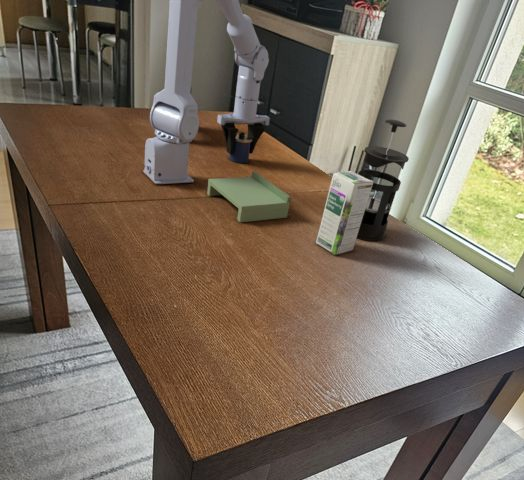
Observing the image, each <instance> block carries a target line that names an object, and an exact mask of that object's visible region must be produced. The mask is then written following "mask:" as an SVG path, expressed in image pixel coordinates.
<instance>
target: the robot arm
mask: <svg viewBox="0 0 524 480" xmlns="http://www.w3.org/2000/svg"><path fill="white" fill-rule="evenodd" d="M204 1H205V0H169V5H168V23H167V25H168V26H167V39H166V40H167V41H166V43H167V44H166V56H165V74H164V88H163V89H162V90H160V91H159V92H156V93H155V94H154V95H153V101H152V102H153V103H152V107H151V109H150V112H149V123H150V126H151V127H152V128H153V130H154V135H155V136H154V137H149V138H146V141H145V144H144V169H143V170H142V172H143V174H145V175H146V176H147V177H148V178H149V179H150V180H151V181H152V182H153V183H154V184H156V185H170V184H187V183H190V184H191V183H194V182H195V180H194V178H192V177H191V176H190V175H188V172H189V171H188V169H189V155H190V154H189V153H190V143H192V142H193V140H194V139H195V137H196V136H197V134H198V132H199V126H200V121H199V117H198V108H199V106H198V103H197V102H196V100H195V98H194V97H193V96H192V80H193V79H192V78H193V67H194V55H195V53H194V52H195V44H196V32H197V20H198V9H199V6H200V5H201V4H203V2H204ZM216 1H217V3H218V5H219V7H220V9H221V10H222V12H223V15H224V16H225V18H226V20H227V22H228V23H227V25H226V32H227V34H228V36H229V38H230V40H231V42H232V45H233V51H234V62H235V64H236V66H238V72H237V82H236V89H235V97H234V106H233V107H234V108H233V113H225V114H217V118H216V119H217V120H216V122H217V124H219V125H220V127H221V129H222V132H223V135H224V140H225V145H226V153H228V154H229V155H230V154H233V151H234V143H235V138H236V135H237V133H238V132H239V129H238V128H237V127H236V125H247V135H248V136H250V137H252V138H253V139H252V142H251V145H250V153H249V155H251V154H253V153H254V151H255V148H256V145H257V143H258V142H259V140H260V138H261V137H262V135H263V134H264V133H265V130H266V127H265V126H270V121H271V120H270V119H271V117H269V116H268V115H262V114H257V110H258V103H259V96H260V88H261V82H262V80H263V79H264V76H265V72H266V69H267V67H268V65H269V62H270V58H269V52H268V50H267V49H266V47H265V46H264V45H262V44H261V42H260V40H259V37H258V35H257V33H256V30H255V27H254V24H253V19H252V18H251V17H250V16H249V15H248V14H245V13H243V11H242V7H241V5H240V1H239V0H216ZM190 91H191V93H190ZM263 125H264V126H263Z"/></svg>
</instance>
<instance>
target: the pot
mask: <svg viewBox="0 0 524 480" xmlns="http://www.w3.org/2000/svg"><path fill="white" fill-rule="evenodd" d="M252 139H253V138H252V137H250V136H248V134H245V132H244V131H240V132H239V133H238V132H237V135H236V138H235V143H234V151H233V154H229V155H228V158H229V160H230V161H232V162H234V163H238V164H247V163H249V160H250V145H251V142H252Z"/></svg>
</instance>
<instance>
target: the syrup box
mask: <svg viewBox="0 0 524 480" xmlns="http://www.w3.org/2000/svg"><path fill="white" fill-rule="evenodd" d="M373 183H374V180H372V179H371V180H369V179H366V178H364V177H362V176H360V175H358V173H356V172H355V171H353V170H342V171H341V170H340V171H336V172H334V173H333V174H332V178H331V180H330V184H329V189H328V193H327V197H326V201H325V206H324V209H323V213H322V216H321V217H322V218H321V222H320V226H319V229H318V233H317V237H316V240H315V244H316V245H318V246H320V247H321V248H323V249H325V250H327V252H330V253H331V254H332V255H334V256H337V255H341V254H344V253H347V252H351V251H353V250H354V247H355V245H356V241H357V239H358V238H357V235H358V231H359V228H360V225H361V221H362V218H363V215H364V211H365V208H366V205H367V201H368V198H369V197H370V194H371V191H372V189H371V188H372V185H373Z"/></svg>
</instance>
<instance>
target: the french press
mask: <svg viewBox="0 0 524 480" xmlns="http://www.w3.org/2000/svg"><path fill="white" fill-rule="evenodd" d="M384 122H385V123H386V124H387V125H390V126H391V130H390V132H391V135H390V138H389V141H388V145H387V147H383V146H375V145H371V146H366V147H365V148H364V153H365V155H364V160H363V162H364V163H365V164H367V165H368V166H370V167H373V168H376V169H377V168H378V169H379V168H380V171H379V170H375V169H371V168H369V167H362V168H361V170H359V171H358V172H357V174H358V175H360V176H362V177H364V178H366V179H369V180H372V179H373V178H378V179H377V181H376V182H373V185H372V188H371V191H372V190H373V191H374V192H373V195H372V196H369V198H368V201H367V205H366V208H365V211H364V215H363V218H362V221H361V225H360V228H359V231H358V235H357V238H356V239H358V240H363V241H367V242H379V241H382V240H384V239H385V236H386V230H387V226H388V223H389V220H388V218H389V216H390V212H391V210H392V206H393V202H394V199H395V196H396V193H397V192H398V191H399V190H400V188H401V184H402V181H401V180H400V179H399V178H398V177H396V176H395V175H392V174H389V173H387V172H384V171H383V170H384V166H386V165H389V164H397V165H398V166H400V169H401V170H404V168H405V165H406V163H408V162H409V160H410V158H409V156H407V155H406V154H404V153H403V152H400V151H398V150H395V149H392V148H391V144H392V140H393V137H394V134H395V133H396V132H397V129H398V127H399V128H406V127H407V124H406V123H405V122H403V121H400V120H397V119H391V118H390V119H385V121H384ZM380 180H385V181H387V182H390V183H391V184H392V185H385V184H380ZM377 192H381V193H382V195H381V198H377V197H376V194H377Z"/></svg>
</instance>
